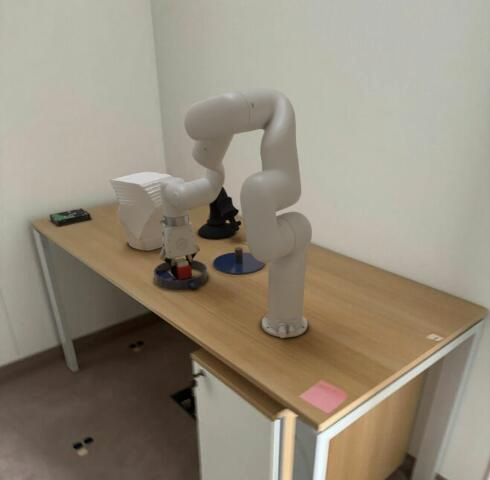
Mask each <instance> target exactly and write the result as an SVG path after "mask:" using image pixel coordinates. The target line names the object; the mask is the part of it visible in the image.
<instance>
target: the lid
mask: <svg viewBox="0 0 490 480" xmlns="http://www.w3.org/2000/svg"><path fill="white" fill-rule="evenodd" d="M212 265H213V267H214V269H215V270H217V272H218V271H219V272H221V273H224V274H228V275H238V276H239V275H240V276H241V275H249V274H253V273H257V272H258V271H260V270H263V268H264V267H265V263H263V262H260V261H258V260H256V259H255V258H254V257H253V256H252V254H251V252H245V251H244V249H243V247H241V246H236V247H234V252H228V253H223V254H220V255H218V256H217V257H215V258H214V259H213V261H212Z"/></svg>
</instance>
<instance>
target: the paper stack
mask: <svg viewBox="0 0 490 480" xmlns="http://www.w3.org/2000/svg"><path fill="white" fill-rule="evenodd" d="M172 177H173V176H172V175H171V174H168V173H161V172H157V171H142V172H137V173H131V174H127V175H123V176H120V177H116V178H113V179H110V180H109V182H110V185H111V186H112V189H113V190H114V192H115V194H116V198H117V201H118V204H119V206H118V208H117V211H116V214H115V215H116V218H117V219H119V221H120V224H121V227H122V229H123V231H124V234H125V237H126V240H127V243H128V245H129V246H130V247H131V248H133V249H136V250H139V251H149V252H150V251H153V250H155V249H159V248H162V228H163V225H164V223H160V219H162V218H163V215H164V214H163V205H162V196H161V186H160V184H161V181H162V180H163V179H166V178H172Z"/></svg>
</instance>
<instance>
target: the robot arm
mask: <svg viewBox="0 0 490 480" xmlns="http://www.w3.org/2000/svg"><path fill="white" fill-rule="evenodd" d="M295 113H296V112H295V109H294V106H293V104H292V102H291V100H290V99H289V98H288V97H287V96H286V95H285V94H284V93H282V92H281V91H279V90H276V89H273V88H252V89H251V88H250V89H246V90H237V91H228V92H223V93H220V94H217V95H214V96H212V97H209V98H206V99H203V100H199V101H195V102H194V103H192V104H191V105H190V106H189V107H188V108H187V110H186V112H185V115H184V121H183V122H184V129H185V133H186V134H187V136H188V137H189V138H190V139H191V140H193V141H194V142H193V145H192V148H191V155H192V158H193V159H194V161H195V162H196V163H197V164H198V165H200V166H201V167H203V168H205V171H204V174H203V176H202V177H201V178H197V179H194V180H191V181H187V182H186V181H185V180H184V178H182V177H176V176H175V177H174V176H172V178H166V179H163V180H162V181H161V184H160V186H161V196H162V205H163V214H164V215H163V218H162V219H160V223H164V225H163V228H162V247H161V251H160V253H159V254H158V256H157V258H158V260H160V261H163V262H167V263H168V264H170V270H169V271H170V272H169V273H170V274H171V275H172V276H173V277H174V278H178V277H177V268H176V265H175V259H178V258H182V257H184V258H185V259H186V260H187V261H188V264H189V265H190V266H191V269H192V270H193V268H192V264H191V262H192V261H193V260H194V258H195V257H196V255H197V254H198V253H199V252H200V251H201V248H200V247H199V246H198V245H197V241H196V236H195V231H194V227H193V223H192V222H191V221H190V219H189V211H191V210H194V209H197V208H200V207H204V206H207V205H209V204H210V203H212V202H213V201H214V200H215V199H216V198H217V196H218V195H219V193H220V191H221V189H222V187H224V184H225V179H226V172H225V166H224V163H223V161H224V159H225V156H226V154H227V151H228V149H229V147H230V145H231V143H232V140H233V139H234V136H235V135H238V134H243V133H248V132H254V131H257V130H263V135H262V138H261V140H260V146H259V154H260V159H261V171H259V172H256V173H253V174H251V175H249V176H248V177H246V178H245V180H244V181H243V182H242V185H241V188H240V193H239V202H240V209H241V215H242V216H241V217H242V222H243V228H244V235H245V240H246V244H247V247H248V248H247V249H248V250H249V253H251V254H252V256H253V257H254V258H255V259H256V260H258V261H260V262H263V263H264V264H267V263H268V273H267V274H268V277H267V279H268V280H267V314H266V315H265V316H264V317H263V318H262V320H261V329H263V331H264V332H266V333H267V334H268V335H271V336H274V337H279V338H280V339H284V338H294V337H298V336H301V335H302V334H304V333H305V332H306V331H307V330H308V320H307V319H306V317H305V316H303V312H304V299H305V298H304V297H305V285H306V271H307V270H306V269H307V261H308V254H309V251H310V247H311V242H312V238H313V228H312V225H311V222H310V220H309V219H308V217H307V216H306V215H305V214H303V213H302V212H298V211H288V212H287V211H286V212H284V213H281V214H279V215H277V212H279V211H282V210H285V209H287V208H289V207H290V208H291V207H292V206H294V205H295V204H297V203H298V202H299V201H300V198H301V196H302V180H301V172H300V161H299V156H298V155H299V154H298V147H297V146H298V145H297V120H296V119H297V118H296V114H295Z"/></svg>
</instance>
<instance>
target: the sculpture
mask: <svg viewBox="0 0 490 480" xmlns="http://www.w3.org/2000/svg"><path fill="white" fill-rule="evenodd" d="M208 207H209V213H208V216H207V217H208V218H207V220H206V223H204V224H203V225H201V226H200V227H199V228H198V229H197V235H198V236H199V237H201V238H203V239H207V240H225V239H228V238H231V237H233V236H234V235H235V234H236V232H238V231H239V230H240V227H241V226H242V221H241V220H236V218H235V217H237V216H238V214H239V212H240V210H239V209H238V208H236V207H235V206H234V203H233V197H231V196H228V193H227V191H226V189H225V187H224V186H223V187H222V189H221V191H220V193H219V195H218V196H217V198H216V199H215V200H214V201H213V202H212V203H210V204H208ZM227 221H228V222H227Z"/></svg>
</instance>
